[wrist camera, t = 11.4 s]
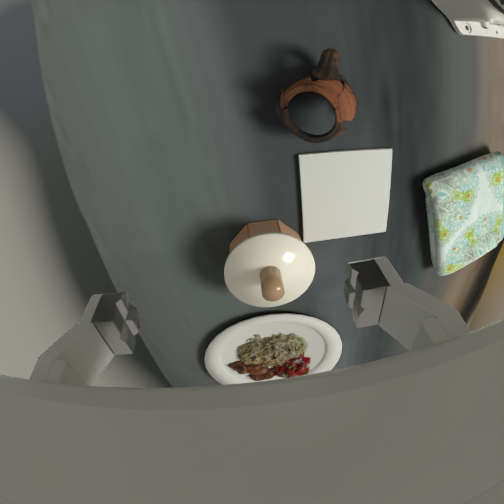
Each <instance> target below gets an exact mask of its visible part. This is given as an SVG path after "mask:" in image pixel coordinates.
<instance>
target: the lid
mask: <svg viewBox="0 0 504 504" xmlns="http://www.w3.org/2000/svg"><path fill="white" fill-rule="evenodd" d="M314 274H315V262H314V258H313V256H312V253H311V251H310V250H309V248H308V247H307V246H306V245H305V243H303V242H302V241H301V240H300V239H298V238H296V237H294V236H292V235H290V234H286V233H281V232H264V233H259V234H255V235H252V236H250V237H248V238H246V239H244V240H243V241H241V242H240V243H238V244H237V245H236V246H235V247H234V248H233V249H232V251H231V252H230V253H229V255H228V257H227V259H226V262H225V266H224V279H225V283H226V285H227V287H228V289H229V291H230V292H231V293H232V294H233V295H234V296H235V297H236V298H237V299H239V300H241V301H242V302H244V303H247V304H249V305H253V306H258V307H274V306H279V305H283V304H286V303H288V302H291V301H293V300H294V299H296V298H298V297H299V296H300V295H301V294H303V293H304V292H305V291H306V290H307V288H308V287H309V286H310V284H311V282H312V280H313V278H314Z"/></svg>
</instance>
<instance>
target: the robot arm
mask: <svg viewBox="0 0 504 504" xmlns="http://www.w3.org/2000/svg"><path fill="white" fill-rule="evenodd" d="M431 1H432V2H433V3H434V4H435V5H436V6H437V7H438V9H440V10H441V11H442V12H443V13H444V14H445V15H446V16H447V18H448V19H449V21H450V22H451V24H452V26H453V28H454V29H455V31H456V32H457V33H458V34H460V35H470V36H483V37H493V38H501V39H504V0H431ZM465 27H466V28H465ZM346 274H347V277H348V278H347V279H346V281H345V285H344V291H345V298H346V301H347V304H348V306H349V307H351V308H352V317H353V319H354V322H355V324H356V327H357V328H360V327H365V326H371V325H376V324H379V326H380V327H381V328H383V329H384V330H385V331H386V332H388V333H389V334H390V335H391V336H393V337H394V338H395V339H396V340H398V341H399V342H400V343H401V344H402V345H404V346H405V347H406V348H407V349H409V350H410V352H407V353H404V354H400V355H396V356H393V357H389V358H385V359H381V360H377V361H373V362H368V363H364V364H360V365H355V366H351V367H346V368H341V369H336V370H331V371H326V372H320V373H315V374H309V375H303V376H296V377H290V378H283V379H276V380H268V381H259V382H250V383H241V384H230V385H217V386H201V387H178V388H120V387H98V386H91V385H92V383H93V382H94V381H95V379H96V378H97V377H98V376H99V375H100V373H101V372H102V371H103V370H104V368H105V367H106V366H107V364H108V363H109V362H110V361H111V359H112V358H113V357H114V355H116V354H133V351H134V347H135V343H136V339H135V337H134V336H135V335H136V334H137V333H138V332H139V328H140V317H139V313H138V311H137V309H136V308H135V307H134V306H132V305H131V301H132V299H131V297H130V295H129V294H128V293H126V292H120V293H107V294H97V295H93V296H92V297H91V298H90V301H89V303H88V305H87V307H86V309H85V311H84V314H83V316H82V318H81V320H80V323H79V324H75V325H74V326H73V327H72V328H71V329H70V330H68V332H66V333H65V334H64V335H63V336H62V337H61V338H59V339H58V340H57V341H56V342H55V343H54V344H53V345H52V346H51V347H49V348H48V349H47V350H46V351H45V352H44V353H43V354H42V355H41V356H40V357H39V358H38V360H37V363H36V365H35V367H34V370H33V372H32V375H31V377H30V380H29V379H23V378H17V377H11V376H5V375H0V504H504V319H502V320H500V321H497V322H495V323H492V324H490V325H488V326H485V327H483V328H480V329H478V330H475V331H472V332H471V331H470V330H469V328H468V326H467V325H466V323H465V322H464V320H463V318H462V317H461V315H460V314H459V312H458V311H457V309H455V308H453V307H451V306H449V305H448V304H446V303H444V302H442V301H440V300H438V299H437V298H435V297H433V296H431V295H429V294H427V293H426V292H424V291H422V290H420V289H418V288H416V287H414V286H412V285H410V284H409V283H403V281H402V280H401V278H400V277H399V275H398V274H397V272H396V271H395V269H394V268H393V266H392V265H391V263H390V262H389V260H388V259H387V257H385V256H383V257H378V258H373V259H369V260H363V261H357V262H351V263H347V265H346Z"/></svg>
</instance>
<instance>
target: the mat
mask: <svg viewBox="0 0 504 504" xmlns="http://www.w3.org/2000/svg"><path fill="white" fill-rule="evenodd" d="M298 158H299V172H300V187H301V203H302V222H303V241H304V243H306V242H313V241H321V240H328V239H335V238H343V237H350V236H357V235H364V234H372V233H379V232H386V226H387V217H388V207H389V196H390V183H391V167H392V149H391V148H377V149H356V150H340V151H327V152H315V153H304V154H298Z"/></svg>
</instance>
